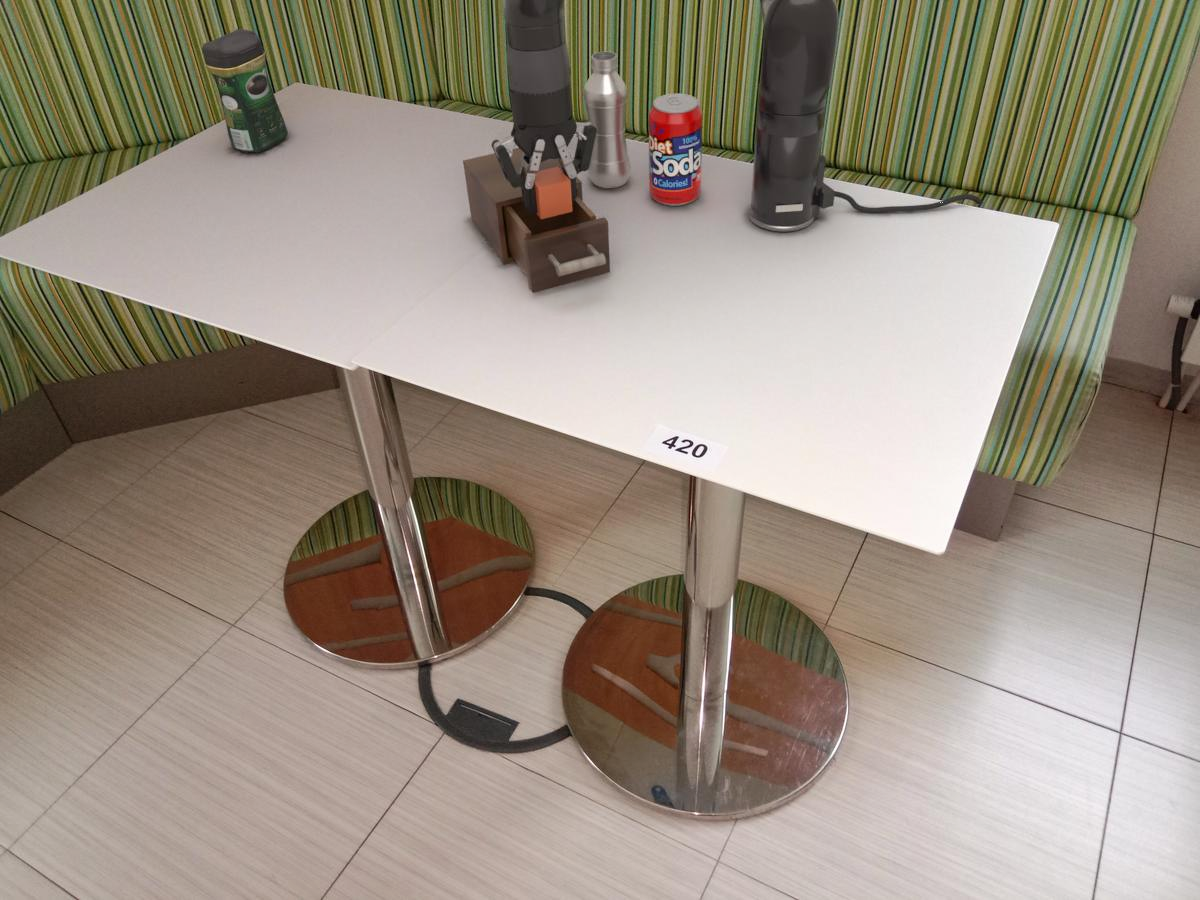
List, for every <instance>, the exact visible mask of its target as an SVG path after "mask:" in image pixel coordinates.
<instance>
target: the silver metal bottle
mask: <svg viewBox="0 0 1200 900" xmlns="http://www.w3.org/2000/svg"><path fill="white" fill-rule="evenodd" d="M590 59H591V64H590V70H591V71H592V73H591V75H590V76H589V78H588V79H587V81H586V83H585V84H584V88H583V92H582V95H583V100H584V105H585V110H586V114H587V120H588V121H589V122H590V123H591V124H592V125H593V126H595V127H596V129H597V133H596V137H595V142H594V147H593V151H592V156H591V161H590V166H589V169H588V170H587V171H588V176H589V180H590V181H591V182H592V183H593V184H594V185H595V186H597V187H599V188H604V189H613V188H614V189H615V188H619V187H621V186H624V185H625V184H626V183H627V182H628V180H629V179H630V177H631V176H630V175H631V168H632V167H631V162H630V157H629V154H628V147H627V139H626V127H625V126H626V111H627V102H628V89H627V85H626V83H625V81H624V80H623V78H622V77H621V76H620V74H619V73H618V72H617V70H619V69H618V68H619V64H618V55H617V53H615V52H613V51H606V50H605V51H597V52H594V53H593V54H592V55H591V57H590Z"/></svg>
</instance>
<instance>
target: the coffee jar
mask: <svg viewBox="0 0 1200 900" xmlns="http://www.w3.org/2000/svg"><path fill="white" fill-rule="evenodd" d="M201 51H202V54H203V59H204V63H205V67H206V69H207V71H208V72H209V74H211V76H212V77H213V80H214V82H215V85H216V88H217V92H218V95H219V100H220V103H221V107H222V111H223V116H224V121H225V125H226V126H225V127H226V130H227V134H228V138H229V141H230V142H229V143H230V145H231V146H232V148H234V149H235V150H237V151H239V152H241V153H245V154H246V153H247V154H248V153H261V152H263V151H265V150H269V149H270V148H272V147H274V146H275V145H277V144H279V143H281V142H282V141H283V140H285V139H286V138H287V137H288V128H287V125H286V123H285V119H284V117H283V114H282V111H281V110H280V107H279V105H278V102H277V99H276V96H275V93H274V90H273V88H272V85H271V82H270V79H269V75H268V71H267V64H266V52H265V49H264V47H263V45H262V42H261V39H260V37H259V36H258V34H256V32H255V31H253V30H248V29H243V28H236V29H235V30H233V31H230V32H229V33H226V34H223V35H222V36H220V37H217V38H215V39H213V40H210V41H207V42H204V43H203V45H202V47H201Z"/></svg>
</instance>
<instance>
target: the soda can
mask: <svg viewBox="0 0 1200 900" xmlns="http://www.w3.org/2000/svg"><path fill="white" fill-rule="evenodd" d="M652 105H653V106H652V107H651V108H650V110H649V111H648V183H649V184H648V185H649V195H650V198H652V199H653V200H654V201H656V202H658V203H659V204H662V205H665V206H668V207H669V206H671V207H678V206H684V205H688V204H690V203H692V202H694V201H696V200H697V199H698V198H699V196H700V195H701V193H702V192H701V190H702V188H701V187H702V161H703V159H702V157H703V155H702V153H703V119H704V117H703V116H704V115H703V114H704V113H703V110H702V108H701V107H700V105H699V100H698V98H696V97H695V96H694V95H690V94H686V93H667V94H663V95H660V96H657V97H656V98H655V99H654V100H653V103H652Z"/></svg>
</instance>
